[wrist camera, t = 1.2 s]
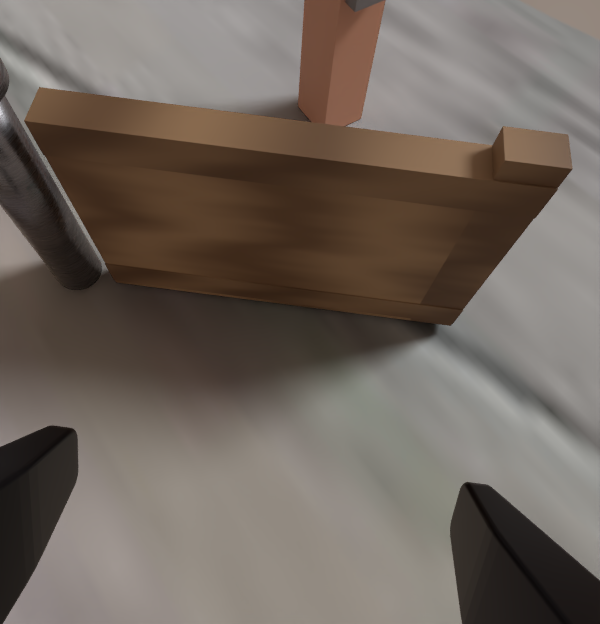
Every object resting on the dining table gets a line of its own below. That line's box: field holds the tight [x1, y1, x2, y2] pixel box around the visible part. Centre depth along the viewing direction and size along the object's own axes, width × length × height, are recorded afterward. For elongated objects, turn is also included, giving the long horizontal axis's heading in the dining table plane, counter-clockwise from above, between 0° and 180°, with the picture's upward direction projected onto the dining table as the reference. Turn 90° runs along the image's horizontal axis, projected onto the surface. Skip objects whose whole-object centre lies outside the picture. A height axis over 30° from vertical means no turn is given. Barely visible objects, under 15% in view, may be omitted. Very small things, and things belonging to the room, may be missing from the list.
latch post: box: [298, 0, 385, 126], centre depth 24 cm, size 2×3×12 cm
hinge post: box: [0, 58, 102, 290], centre depth 19 cm, size 3×3×11 cm
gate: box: [24, 87, 572, 326], centre depth 19 cm, size 15×1×10 cm, turn 83°
